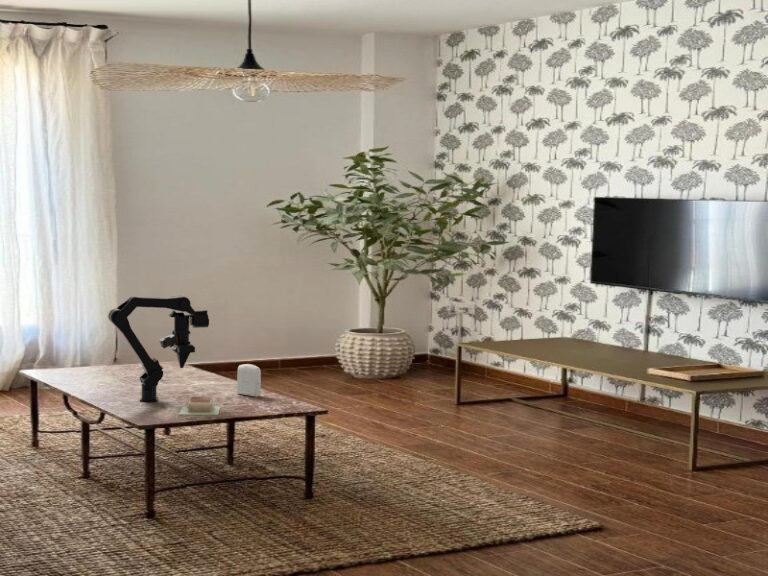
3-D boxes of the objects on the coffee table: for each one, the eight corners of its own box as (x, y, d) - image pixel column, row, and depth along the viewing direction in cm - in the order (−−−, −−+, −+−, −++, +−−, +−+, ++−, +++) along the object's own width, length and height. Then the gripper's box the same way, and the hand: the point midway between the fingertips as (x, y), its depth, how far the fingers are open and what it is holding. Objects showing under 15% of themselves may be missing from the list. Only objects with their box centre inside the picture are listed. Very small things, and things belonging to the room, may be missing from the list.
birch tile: (190, 396, 433) (188, 402, 421) (212, 396, 433) (210, 402, 421) (190, 406, 433) (188, 412, 421) (212, 406, 434) (210, 412, 422)
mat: (182, 407, 432) (182, 406, 432) (220, 407, 433) (220, 406, 433) (179, 415, 418) (179, 414, 418) (218, 415, 419) (218, 414, 419)
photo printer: (262, 395, 459) (262, 365, 458) (255, 397, 456) (255, 366, 455) (242, 392, 465) (242, 362, 464) (235, 394, 461) (235, 363, 460)
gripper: (155, 326, 453) (155, 365, 454) (166, 332, 436) (166, 372, 437) (183, 325, 457) (183, 364, 459) (195, 331, 440) (195, 371, 442)
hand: (181, 367), depth 449 cm, fingers closed
